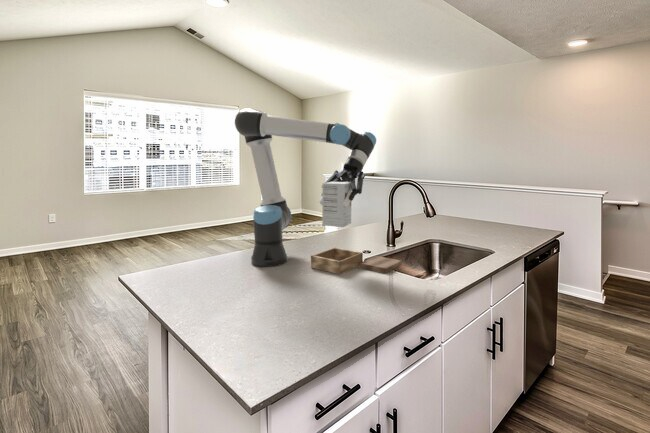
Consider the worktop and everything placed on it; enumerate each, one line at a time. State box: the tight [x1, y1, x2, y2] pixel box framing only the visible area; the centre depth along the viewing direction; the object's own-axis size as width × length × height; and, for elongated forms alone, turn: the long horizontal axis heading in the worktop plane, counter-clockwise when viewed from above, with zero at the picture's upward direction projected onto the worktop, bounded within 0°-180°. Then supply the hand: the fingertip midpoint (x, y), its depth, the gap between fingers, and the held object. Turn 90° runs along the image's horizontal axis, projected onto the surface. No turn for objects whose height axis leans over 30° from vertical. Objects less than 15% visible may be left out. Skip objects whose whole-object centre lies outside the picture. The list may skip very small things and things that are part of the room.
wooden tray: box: [310, 247, 364, 275], centre depth 155 cm, size 14×16×5 cm
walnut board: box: [358, 255, 403, 274], centre depth 154 cm, size 12×13×2 cm
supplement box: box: [321, 182, 353, 228], centre depth 151 cm, size 10×9×17 cm
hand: (332, 204), depth 149 cm, fingers closed on supplement box, 11 cm apart
